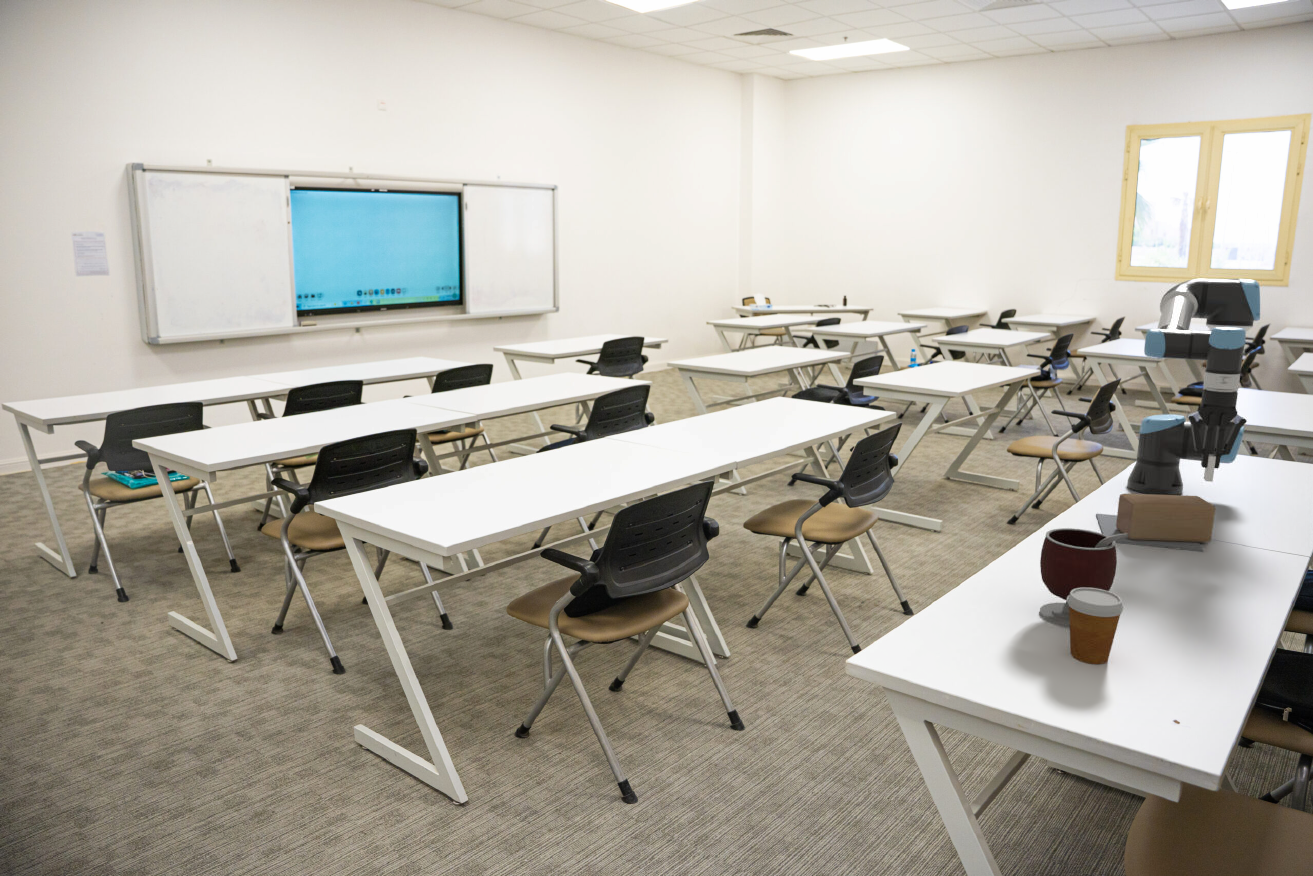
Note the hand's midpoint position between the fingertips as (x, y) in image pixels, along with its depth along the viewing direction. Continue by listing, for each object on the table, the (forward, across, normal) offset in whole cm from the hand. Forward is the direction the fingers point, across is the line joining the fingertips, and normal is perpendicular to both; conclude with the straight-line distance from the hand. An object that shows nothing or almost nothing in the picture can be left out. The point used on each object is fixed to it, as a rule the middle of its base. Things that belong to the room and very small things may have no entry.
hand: (1208, 480), depth 228 cm
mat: (+16, -12, 0) cm, 20 cm away
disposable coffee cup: (+16, -33, -85) cm, 93 cm away
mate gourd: (+16, -34, -67) cm, 77 cm away
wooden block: (+10, 0, -1) cm, 10 cm away
